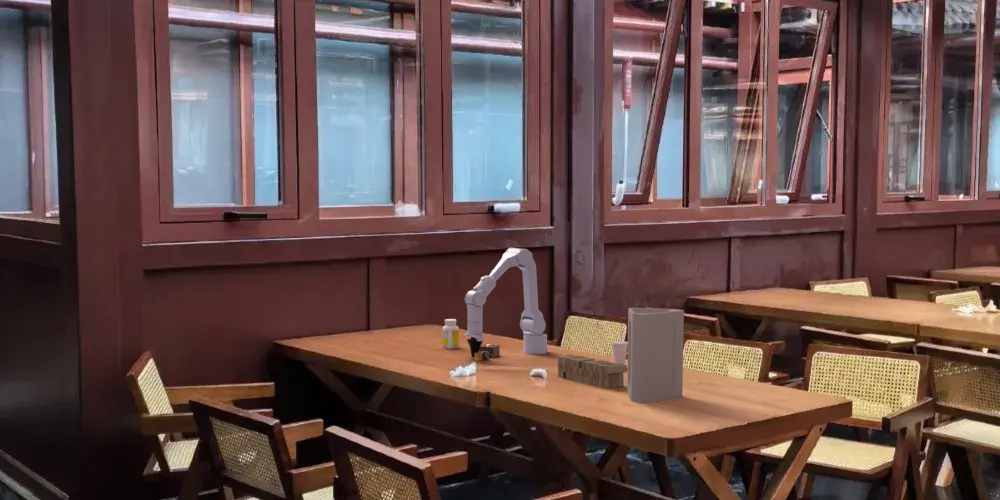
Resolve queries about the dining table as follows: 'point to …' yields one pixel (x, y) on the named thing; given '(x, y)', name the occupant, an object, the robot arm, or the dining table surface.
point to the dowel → (486, 355)
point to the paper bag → (655, 354)
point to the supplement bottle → (450, 334)
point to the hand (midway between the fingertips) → (474, 357)
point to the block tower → (591, 371)
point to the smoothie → (619, 351)
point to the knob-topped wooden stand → (493, 351)
